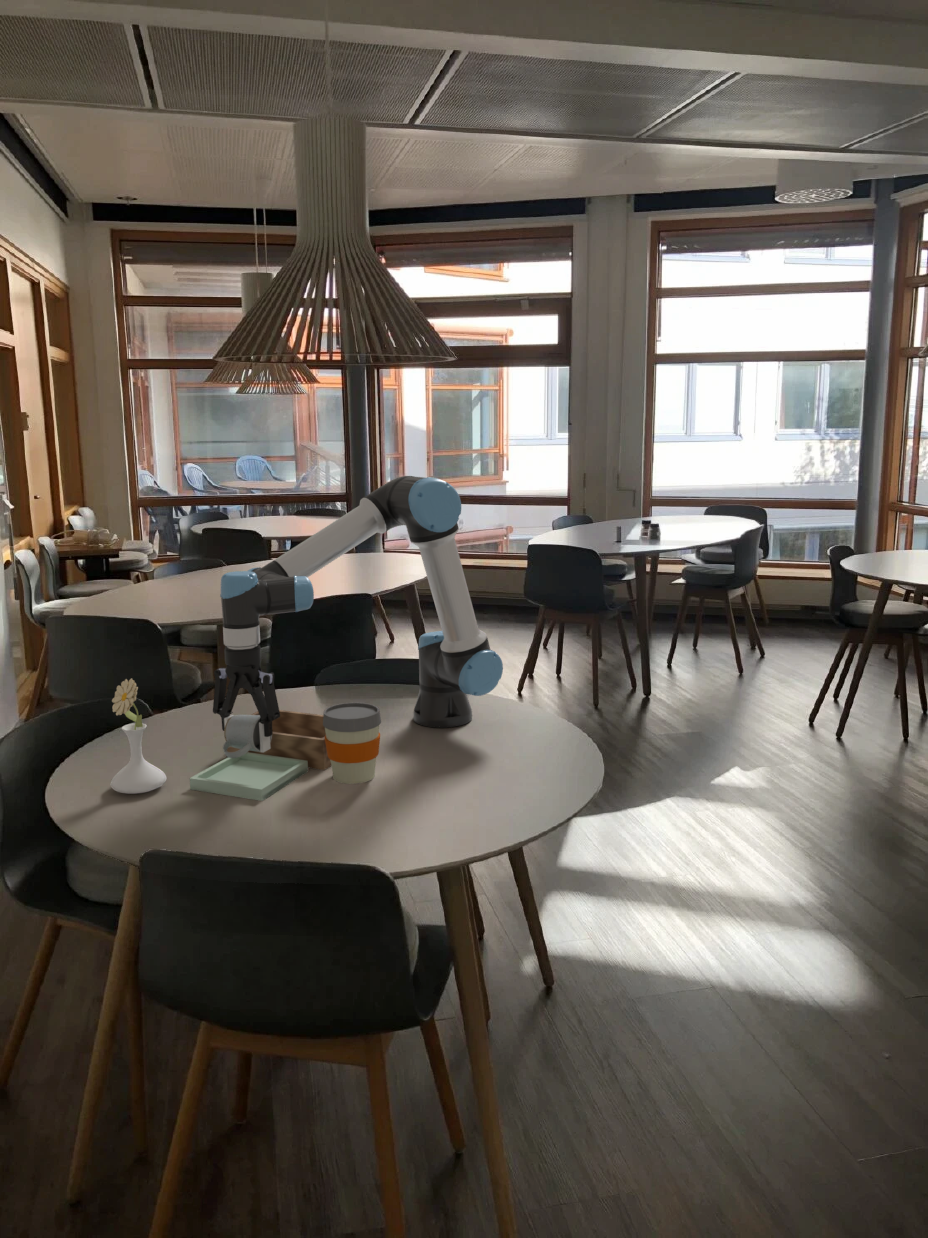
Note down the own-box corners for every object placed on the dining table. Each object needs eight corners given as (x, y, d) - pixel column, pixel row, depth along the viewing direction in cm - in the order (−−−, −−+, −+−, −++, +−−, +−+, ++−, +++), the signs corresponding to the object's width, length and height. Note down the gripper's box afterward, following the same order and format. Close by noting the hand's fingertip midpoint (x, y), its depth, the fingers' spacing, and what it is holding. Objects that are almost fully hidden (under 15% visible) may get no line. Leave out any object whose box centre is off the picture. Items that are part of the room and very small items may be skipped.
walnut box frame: (358, 747, 232) (357, 719, 231) (324, 770, 218) (323, 740, 216) (265, 735, 242) (264, 708, 241) (227, 756, 228) (225, 727, 226)
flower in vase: (109, 783, 212) (98, 671, 206) (163, 775, 216) (155, 665, 211) (113, 805, 200) (102, 687, 195) (171, 796, 204) (162, 680, 199)
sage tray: (308, 771, 217) (307, 760, 217) (262, 801, 201) (261, 789, 200) (240, 761, 224) (239, 751, 223) (190, 789, 208) (189, 778, 207)
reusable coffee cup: (358, 762, 223) (356, 698, 220) (394, 776, 214) (392, 710, 211) (313, 776, 214) (310, 711, 211) (349, 791, 205) (346, 723, 202)
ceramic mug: (242, 740, 216) (240, 707, 214) (274, 745, 213) (272, 711, 211) (213, 757, 206) (211, 722, 205) (246, 762, 203) (244, 726, 202)
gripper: (294, 645, 206) (299, 748, 210) (212, 637, 214) (218, 737, 218) (274, 653, 199) (280, 759, 204) (190, 645, 207) (197, 747, 211)
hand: (248, 747), depth 211 cm, fingers closed on ceramic mug, 8 cm apart
